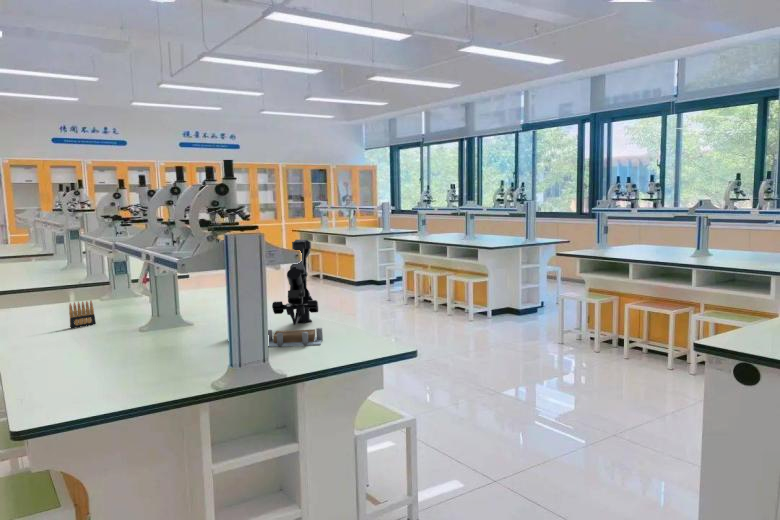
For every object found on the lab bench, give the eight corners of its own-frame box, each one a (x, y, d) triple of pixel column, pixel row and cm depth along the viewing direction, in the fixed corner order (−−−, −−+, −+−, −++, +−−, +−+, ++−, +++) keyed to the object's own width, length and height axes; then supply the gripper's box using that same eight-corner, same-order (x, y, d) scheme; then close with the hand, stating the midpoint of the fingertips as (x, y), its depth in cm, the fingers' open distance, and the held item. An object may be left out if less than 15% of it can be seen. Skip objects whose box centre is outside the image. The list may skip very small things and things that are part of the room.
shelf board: (276, 330, 239) (273, 335, 232) (315, 329, 240) (313, 334, 232) (276, 337, 240) (273, 343, 232) (315, 336, 240) (313, 341, 233)
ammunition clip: (70, 328, 270) (68, 303, 268) (70, 328, 271) (67, 302, 269) (95, 324, 276) (93, 300, 275) (95, 324, 278) (92, 299, 276)
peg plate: (267, 340, 239) (267, 328, 238) (323, 338, 239) (322, 326, 239) (263, 347, 228) (262, 335, 228) (321, 345, 229) (320, 332, 229)
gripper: (271, 282, 240) (268, 314, 230) (316, 281, 241) (315, 313, 231) (275, 297, 249) (272, 329, 239) (318, 296, 249) (318, 327, 240)
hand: (294, 324), depth 237 cm, fingers closed
